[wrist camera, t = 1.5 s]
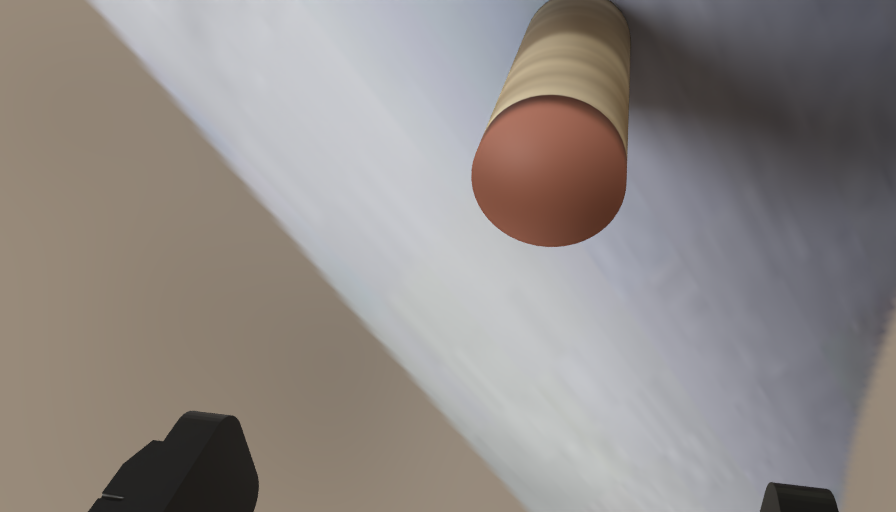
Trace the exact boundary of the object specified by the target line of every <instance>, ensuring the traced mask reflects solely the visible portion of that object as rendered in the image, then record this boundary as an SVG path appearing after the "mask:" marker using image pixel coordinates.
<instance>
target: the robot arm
mask: <svg viewBox="0 0 896 512" xmlns="http://www.w3.org/2000/svg"><path fill="white" fill-rule="evenodd" d="M258 490H259V481H258V475H257V472H256V469H255V466H254V463H253V460H252V457H251V454H250V451H249V448H248V445H247V442H246V440H245V436H244V434H243V430H242V428H241V425H240V422H239V420H238V419H237V418H236V417H235V416H231V415H223V414H215V413H206V412H198V411H189V412H186V413H185V414H183V416H181V417H180V419H179V420H178V421H177V423H176V424H175V425H174V427H173V429H172V430H171V431H170V432H169V434H168V435H167V437H166V438H165V440H164V441H156V440H153V441H151V442H150V443H149V444H148V445H146V446H145V447H144V448H143V449H142V450H140V451H139V452H138V453H136V454H135V455H134V456H133V457H131V458H130V459H129V460H128V461H126V462H125V463H124V464H123V465H122V466H121V468H120V469H119V470H118V472H117V473H116V475H115V476H114V477H113V479H112V480H111V481H110V483H109V484H108V486H107V487H106V488H105V489H104V491H103V492H102V497H101V498H100V499H99V498H98V499H97V500H96V502H95V503H94V504H93V506H92V507H91V509H90V510H89V511H88V512H253V511H254V509H255V506H256V502H257V498H258ZM760 512H839V511H838V508H837V504H836V501H835V498H834V496H833V494H832V492H831V491H830V490H828V489H823V488H814V487H806V486H798V485H789V484H781V483H773V482H770V483H769V484H768V485H767V488H766V491H765V495H764V498H763V502H762V506H761V510H760Z"/></svg>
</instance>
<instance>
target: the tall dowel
mask: <svg viewBox="0 0 896 512" xmlns="http://www.w3.org/2000/svg"><path fill="white" fill-rule="evenodd" d="M630 49H631V37H630V31H629V27H628V24H627V22H626V20H625V18H624V16H623V14H622V13H621V12H620V10H619V9H618V8H617V7H616V6H615V5H614V4H613V3H612V2H610V1H609V0H549V1H548V2H547V3H545V4H544V5H543V6H542V7H541V8H540V9H539V10H538V11H537V12H536V13H535V15H534V16H533V18H532V19H531V21H530V24H529V26H528V28H527V31H526V33H525V35H524V38H523V40H522V43H521V45H520V47H519V50H518V52H517V55H516V57H515V60H514V62H513V64H512V67H511V69H510V72H509V74H508V77H507V79H506V81H505V84H504V86H503V89H502V91H501V93H500V96H499V98H498V101H497V103H496V106H495V108H494V110H493V113H492V115H491V118H490V120H489V123H488V125H487V127H486V130H485V132H484V135H483V137H482V139H481V142H480V144H479V147H478V149H477V152H476V154H475V157H474V161H473V165H472V187H473V191H474V195H475V198H476V200H477V202H478V205H479V206H480V208H481V210H482V211H483V213H484V214H485V215H486V217H487V218H488V219H489V220H490V221H491V222H492V223H493V224H494V225H495V226H496V227H497V228H498V229H500V230H501V231H502V232H504V233H505V234H507V235H509V236H510V237H512V238H515V239H517V240H519V241H522V242H525V243H528V244H532V245H536V246H545V247H559V246H567V245H572V244H576V243H579V242H581V241H584V240H586V239H588V238H590V237H592V236H594V235H596V234H597V233H599V232H600V231H601V230H603V229H604V228H605V227H606V226H607V225H608V224H609V223H610V222H611V221H612V220H613V218H614V217H615V215H616V214H617V212H618V211H619V209H620V207H621V205H622V202H623V199H624V196H625V191H626V179H627V146H628V114H629V82H630Z"/></svg>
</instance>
